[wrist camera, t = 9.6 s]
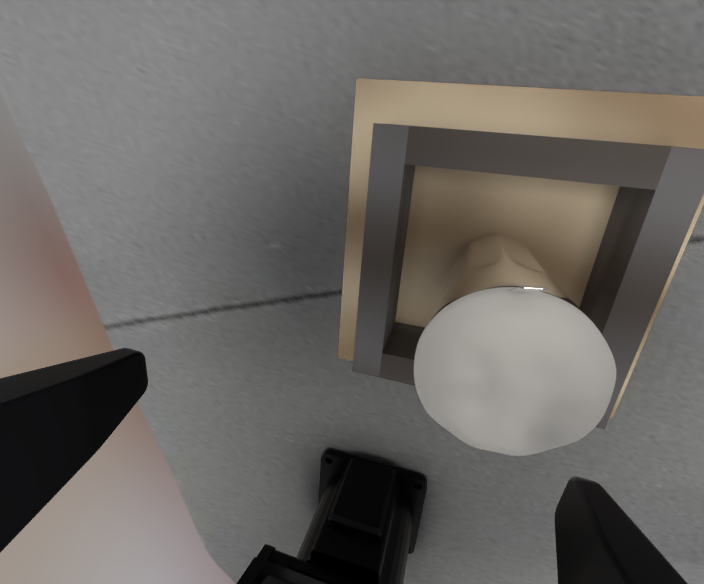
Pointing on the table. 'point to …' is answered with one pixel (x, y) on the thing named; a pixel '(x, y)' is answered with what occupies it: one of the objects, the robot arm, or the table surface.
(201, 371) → the table surface
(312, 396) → the table surface
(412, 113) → the dock
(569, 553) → the robot arm
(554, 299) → the milkshake
